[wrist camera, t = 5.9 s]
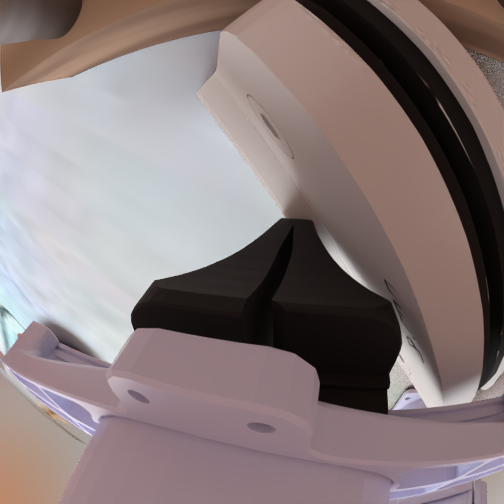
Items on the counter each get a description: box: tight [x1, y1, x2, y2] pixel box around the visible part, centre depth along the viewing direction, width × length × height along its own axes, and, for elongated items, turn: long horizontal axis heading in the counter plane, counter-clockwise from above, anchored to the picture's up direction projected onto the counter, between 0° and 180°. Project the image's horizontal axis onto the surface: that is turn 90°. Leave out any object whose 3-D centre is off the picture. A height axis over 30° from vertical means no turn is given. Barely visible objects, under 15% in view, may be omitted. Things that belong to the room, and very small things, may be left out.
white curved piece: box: [196, 0, 504, 408], centre depth 9 cm, size 17×5×10 cm, turn 36°
